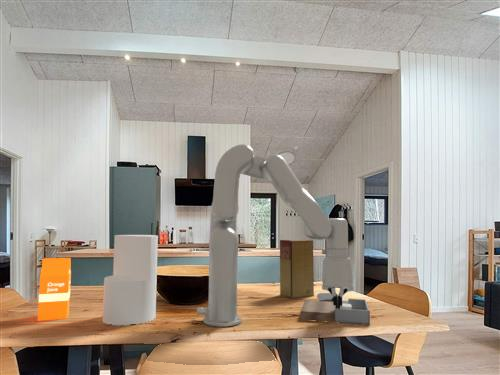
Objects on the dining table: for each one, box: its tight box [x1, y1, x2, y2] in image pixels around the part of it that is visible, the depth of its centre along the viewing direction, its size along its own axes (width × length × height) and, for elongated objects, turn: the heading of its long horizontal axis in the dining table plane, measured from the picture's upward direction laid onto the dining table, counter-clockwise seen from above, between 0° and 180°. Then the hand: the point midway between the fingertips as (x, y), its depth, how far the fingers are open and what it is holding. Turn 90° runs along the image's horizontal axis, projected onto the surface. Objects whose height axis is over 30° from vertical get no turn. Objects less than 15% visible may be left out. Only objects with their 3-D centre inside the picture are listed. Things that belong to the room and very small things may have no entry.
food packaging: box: [279, 239, 315, 299], centre depth 169 cm, size 13×9×25 cm
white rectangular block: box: [342, 304, 352, 309], centre depth 127 cm, size 4×4×3 cm
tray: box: [335, 298, 371, 326], centre depth 131 cm, size 11×18×4 cm, turn 167°
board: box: [300, 300, 335, 323], centre depth 134 cm, size 12×18×3 cm, turn 167°
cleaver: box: [316, 292, 338, 302], centre depth 158 cm, size 30×10×2 cm, turn 179°
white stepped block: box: [102, 234, 159, 326], centre depth 128 cm, size 17×17×28 cm
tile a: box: [340, 297, 349, 309], centre depth 137 cm, size 4×4×3 cm
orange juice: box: [37, 257, 72, 322], centre depth 129 cm, size 8×9×20 cm
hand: (337, 307), depth 128 cm, fingers closed
